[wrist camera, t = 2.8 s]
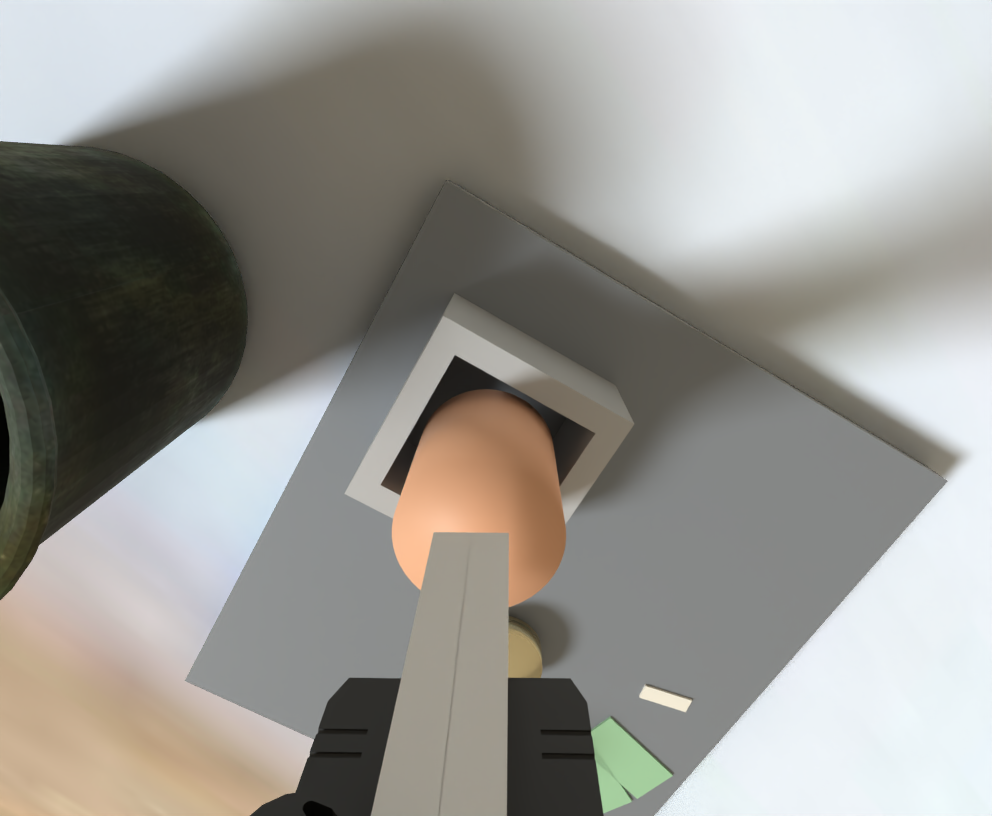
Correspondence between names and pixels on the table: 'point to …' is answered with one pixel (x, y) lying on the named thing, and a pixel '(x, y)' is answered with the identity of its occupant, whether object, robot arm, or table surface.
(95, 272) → the mug
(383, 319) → the tuner board
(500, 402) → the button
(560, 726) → the robot arm
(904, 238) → the table surface
